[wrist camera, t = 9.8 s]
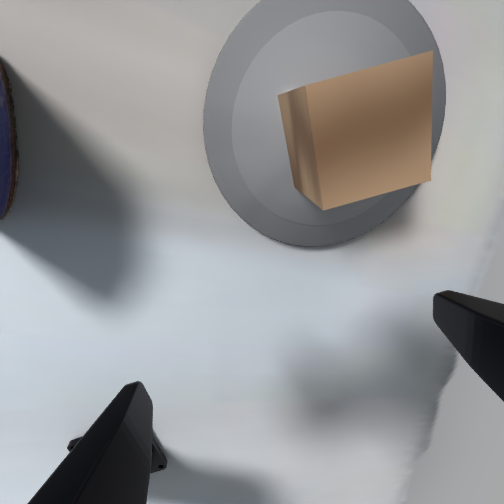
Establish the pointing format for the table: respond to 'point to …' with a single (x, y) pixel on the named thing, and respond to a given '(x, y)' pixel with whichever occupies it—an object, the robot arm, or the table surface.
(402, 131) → the walnut cube
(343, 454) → the table surface
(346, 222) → the slate plate
